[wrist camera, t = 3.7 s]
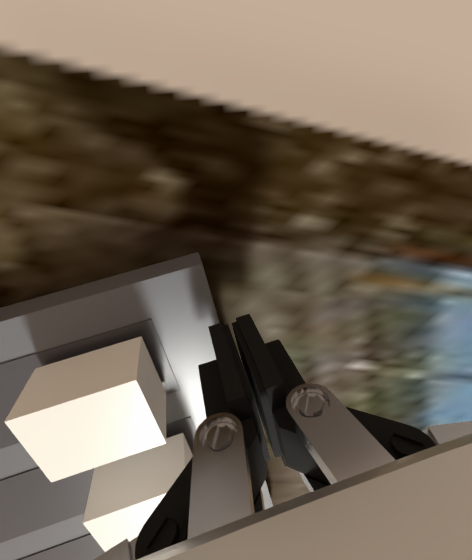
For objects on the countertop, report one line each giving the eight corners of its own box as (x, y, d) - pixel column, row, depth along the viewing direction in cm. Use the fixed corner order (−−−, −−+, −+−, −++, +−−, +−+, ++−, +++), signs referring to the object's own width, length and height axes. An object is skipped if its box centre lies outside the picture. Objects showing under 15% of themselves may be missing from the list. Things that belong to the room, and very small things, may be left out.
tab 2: (183, 432, 14) (186, 486, 12) (200, 473, 16) (206, 528, 13) (96, 462, 14) (82, 523, 12) (120, 501, 15) (113, 563, 13)
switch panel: (198, 251, 13) (202, 265, 12) (271, 500, 21) (279, 528, 19) (-342, 405, 11) (-422, 445, 10) (-43, 617, 19) (-61, 658, 17)
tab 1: (141, 336, 12) (136, 379, 10) (166, 393, 13) (166, 443, 11) (35, 368, 12) (4, 421, 9) (71, 423, 13) (51, 482, 11)
